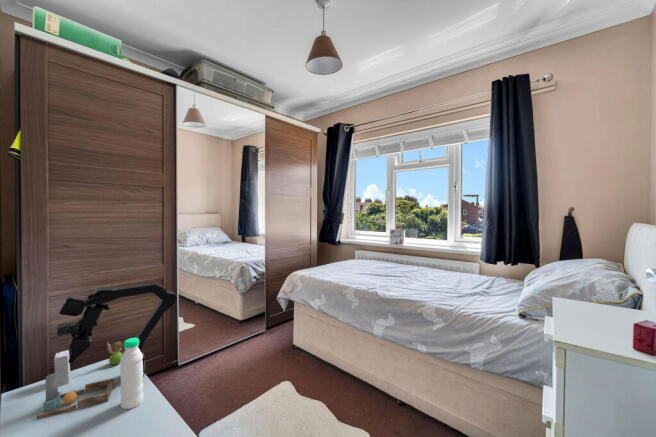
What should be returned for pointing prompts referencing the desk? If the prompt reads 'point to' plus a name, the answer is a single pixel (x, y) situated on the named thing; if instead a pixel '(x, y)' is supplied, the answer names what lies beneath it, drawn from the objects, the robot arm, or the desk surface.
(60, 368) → the skincare box
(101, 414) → the desk surface
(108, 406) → the desk surface
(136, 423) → the desk surface
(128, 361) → the water bottle
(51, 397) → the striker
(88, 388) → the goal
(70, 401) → the ball
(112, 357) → the snail figurine
